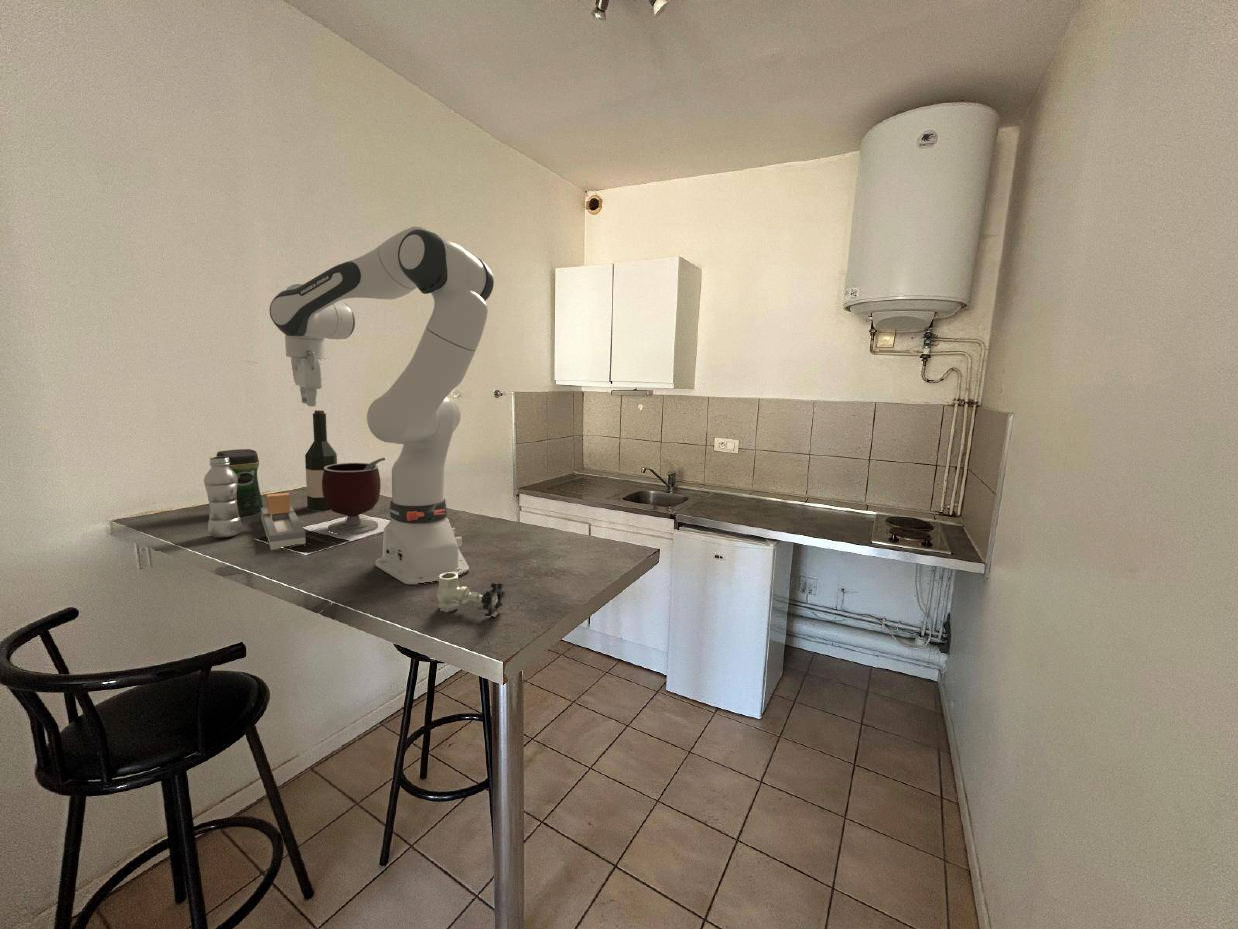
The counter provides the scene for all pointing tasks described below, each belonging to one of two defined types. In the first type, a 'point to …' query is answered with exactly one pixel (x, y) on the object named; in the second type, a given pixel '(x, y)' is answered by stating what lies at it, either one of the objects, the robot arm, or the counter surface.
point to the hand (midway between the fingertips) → (308, 404)
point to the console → (283, 530)
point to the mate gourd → (352, 494)
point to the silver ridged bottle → (222, 498)
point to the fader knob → (278, 505)
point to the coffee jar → (245, 479)
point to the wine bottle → (318, 463)
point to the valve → (466, 594)
